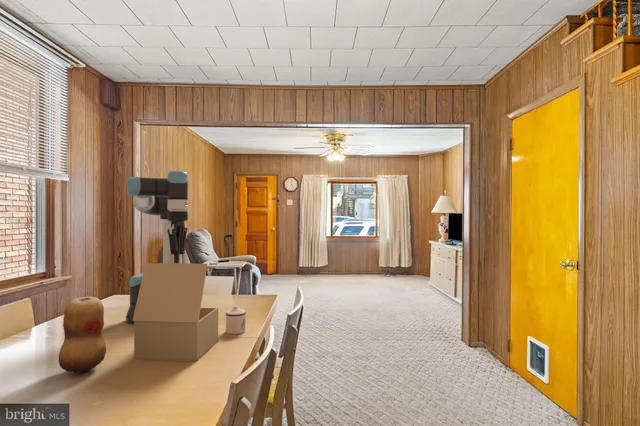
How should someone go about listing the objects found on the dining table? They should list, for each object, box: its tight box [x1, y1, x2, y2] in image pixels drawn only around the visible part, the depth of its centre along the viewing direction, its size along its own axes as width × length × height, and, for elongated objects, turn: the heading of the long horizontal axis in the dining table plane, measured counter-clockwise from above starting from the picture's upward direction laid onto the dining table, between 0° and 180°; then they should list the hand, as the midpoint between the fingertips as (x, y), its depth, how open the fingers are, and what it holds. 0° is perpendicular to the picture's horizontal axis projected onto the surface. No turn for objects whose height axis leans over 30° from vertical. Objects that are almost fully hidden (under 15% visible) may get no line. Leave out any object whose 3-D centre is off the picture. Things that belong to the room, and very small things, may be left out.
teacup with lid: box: [224, 305, 247, 335], centre depth 177 cm, size 12×9×12 cm
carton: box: [133, 307, 219, 362], centre depth 152 cm, size 24×22×14 cm
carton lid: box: [132, 262, 208, 323], centre depth 145 cm, size 25×22×1 cm
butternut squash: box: [58, 296, 107, 374], centre depth 131 cm, size 14×13×25 cm
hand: (177, 270), depth 151 cm, fingers closed
